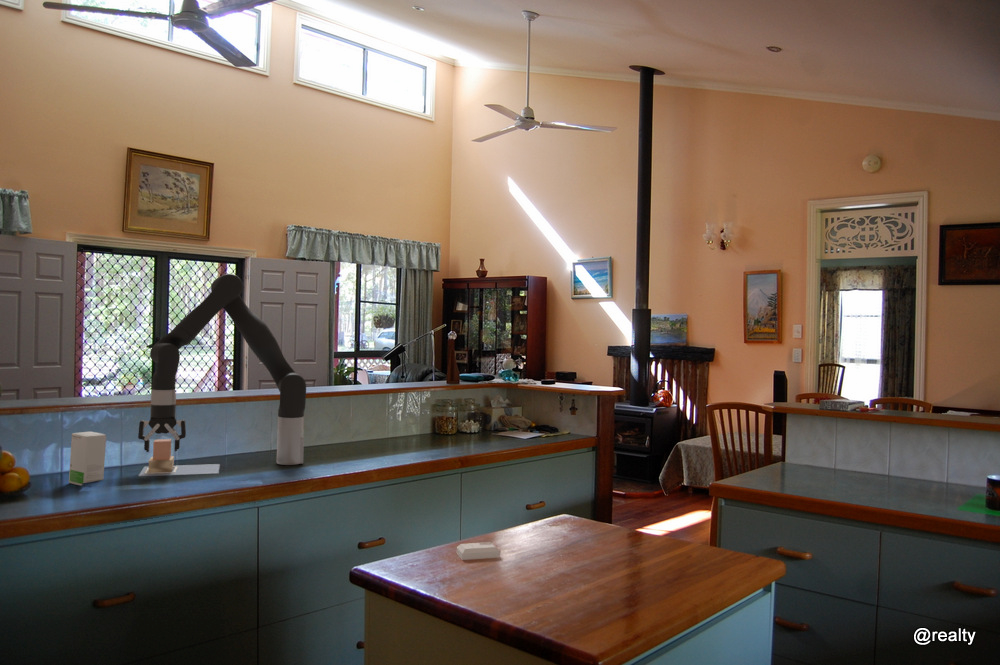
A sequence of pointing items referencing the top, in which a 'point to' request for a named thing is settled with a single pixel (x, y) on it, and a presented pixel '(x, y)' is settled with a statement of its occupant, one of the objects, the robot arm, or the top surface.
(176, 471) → the board
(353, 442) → the top surface
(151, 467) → the beech base block
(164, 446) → the terracotta block
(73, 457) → the skincare box
